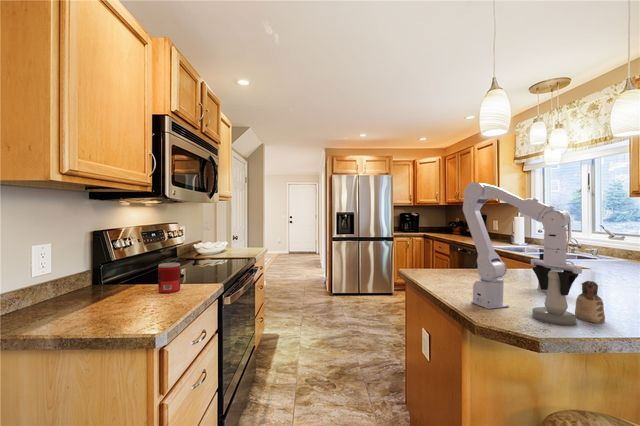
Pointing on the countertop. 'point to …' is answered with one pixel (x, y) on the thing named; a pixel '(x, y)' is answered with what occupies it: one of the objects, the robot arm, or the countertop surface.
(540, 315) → the coaster
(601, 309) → the figurine
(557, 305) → the salt shaker
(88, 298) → the countertop surface
